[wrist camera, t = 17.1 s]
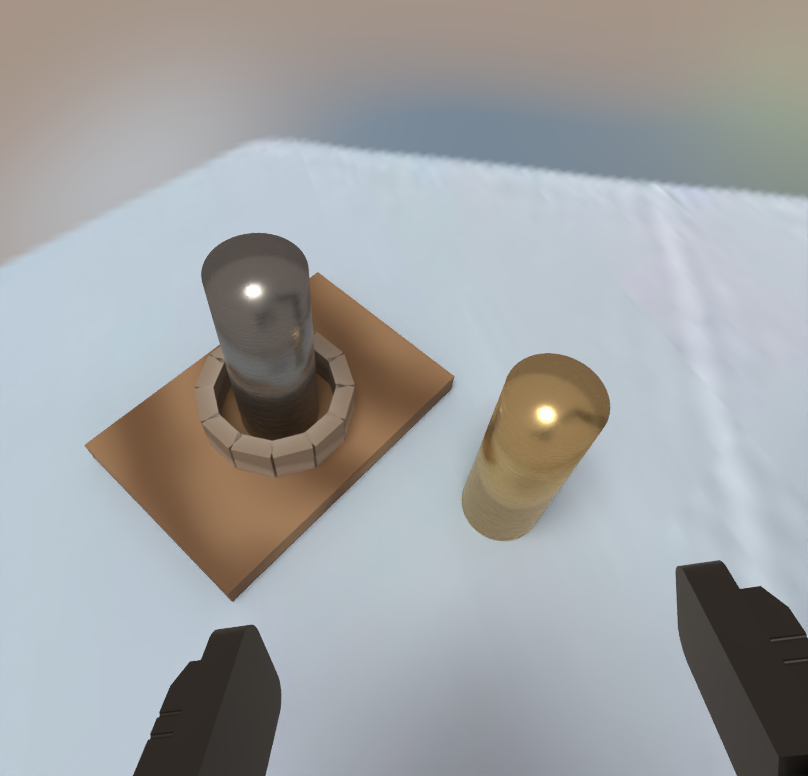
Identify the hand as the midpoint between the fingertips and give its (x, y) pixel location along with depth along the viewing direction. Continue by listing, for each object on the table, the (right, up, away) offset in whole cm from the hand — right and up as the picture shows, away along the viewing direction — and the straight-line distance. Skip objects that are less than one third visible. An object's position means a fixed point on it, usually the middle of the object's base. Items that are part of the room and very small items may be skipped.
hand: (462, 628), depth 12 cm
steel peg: (-8, +3, +25) cm, 27 cm away
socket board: (-9, +3, +27) cm, 28 cm away
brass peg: (+4, -2, +25) cm, 25 cm away
